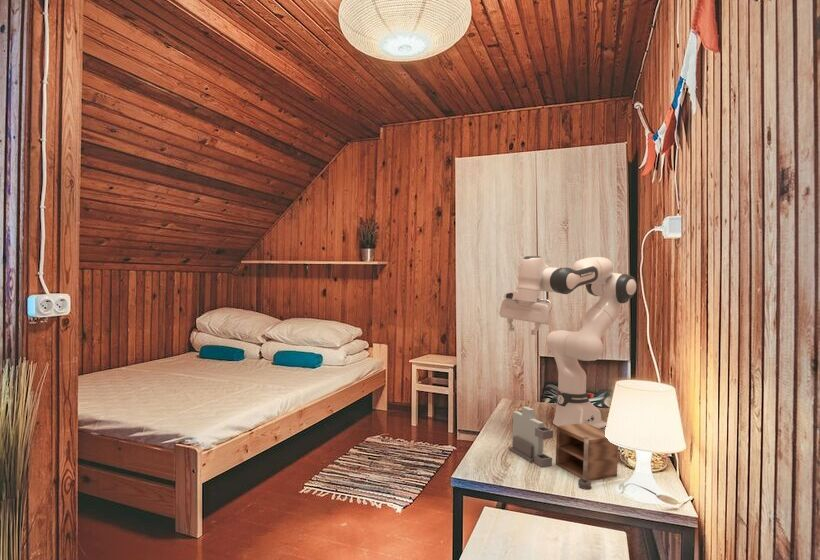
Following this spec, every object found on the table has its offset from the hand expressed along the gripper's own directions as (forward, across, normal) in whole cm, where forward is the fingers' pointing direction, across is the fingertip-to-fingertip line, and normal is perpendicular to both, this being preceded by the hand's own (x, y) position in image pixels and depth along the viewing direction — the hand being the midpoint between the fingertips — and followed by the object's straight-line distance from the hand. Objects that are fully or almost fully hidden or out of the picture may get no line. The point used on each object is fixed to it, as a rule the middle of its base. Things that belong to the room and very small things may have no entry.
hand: (522, 332), depth 188 cm
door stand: (+40, -15, +14) cm, 45 cm away
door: (+40, -16, +15) cm, 46 cm away
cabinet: (+39, -35, +15) cm, 55 cm away
